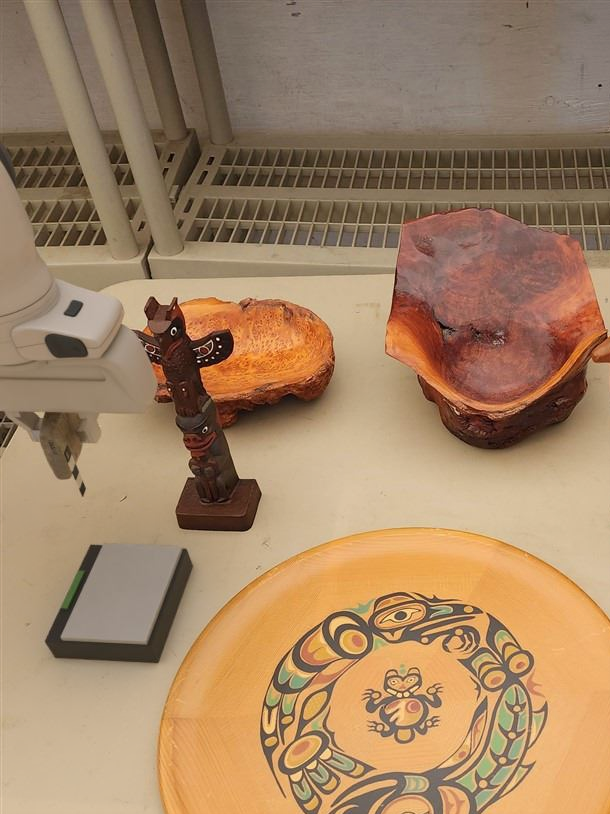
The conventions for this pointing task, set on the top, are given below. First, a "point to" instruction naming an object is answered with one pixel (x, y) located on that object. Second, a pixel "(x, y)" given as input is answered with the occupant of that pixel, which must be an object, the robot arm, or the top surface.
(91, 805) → the top surface
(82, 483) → the brown stone with scale
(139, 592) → the scale
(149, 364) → the robot arm
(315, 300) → the top surface
